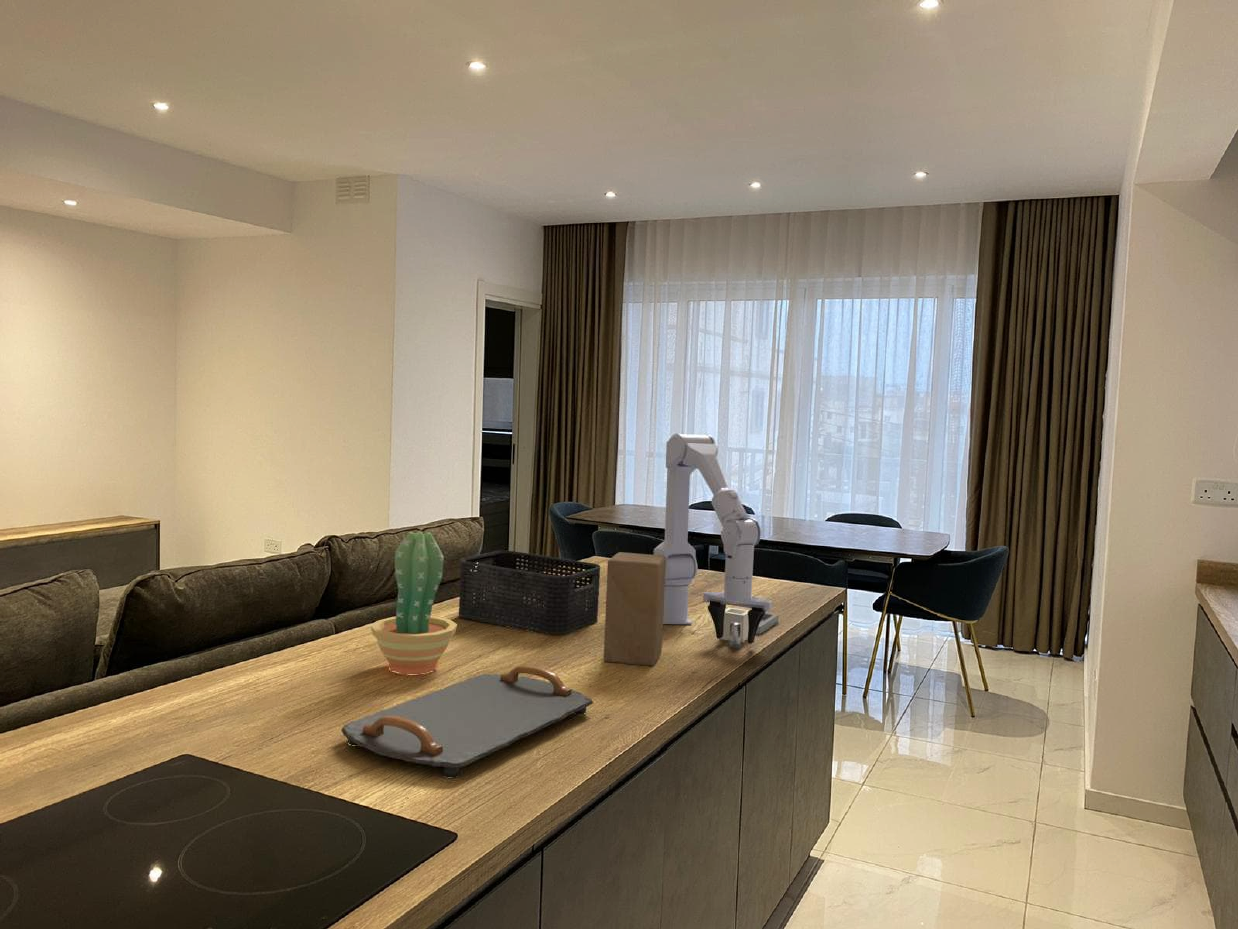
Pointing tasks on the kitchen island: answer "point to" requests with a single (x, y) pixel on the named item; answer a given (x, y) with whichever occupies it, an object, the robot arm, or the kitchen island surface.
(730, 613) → the cream block
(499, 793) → the kitchen island surface
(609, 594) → the wooden block
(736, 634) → the cylinder
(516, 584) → the storage bin
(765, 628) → the tray
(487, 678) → the serving board
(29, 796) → the kitchen island surface
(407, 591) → the potted cactus
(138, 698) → the kitchen island surface
